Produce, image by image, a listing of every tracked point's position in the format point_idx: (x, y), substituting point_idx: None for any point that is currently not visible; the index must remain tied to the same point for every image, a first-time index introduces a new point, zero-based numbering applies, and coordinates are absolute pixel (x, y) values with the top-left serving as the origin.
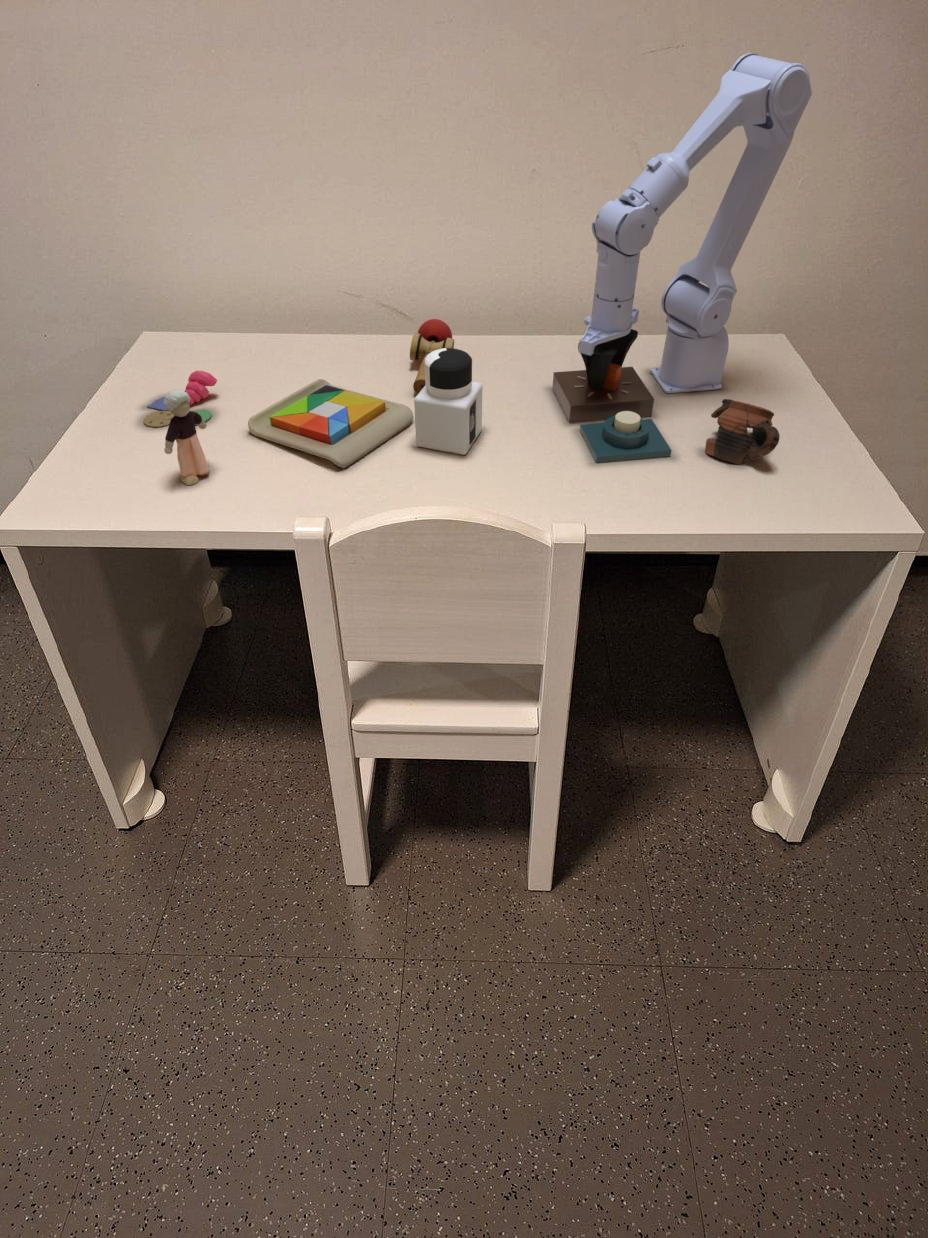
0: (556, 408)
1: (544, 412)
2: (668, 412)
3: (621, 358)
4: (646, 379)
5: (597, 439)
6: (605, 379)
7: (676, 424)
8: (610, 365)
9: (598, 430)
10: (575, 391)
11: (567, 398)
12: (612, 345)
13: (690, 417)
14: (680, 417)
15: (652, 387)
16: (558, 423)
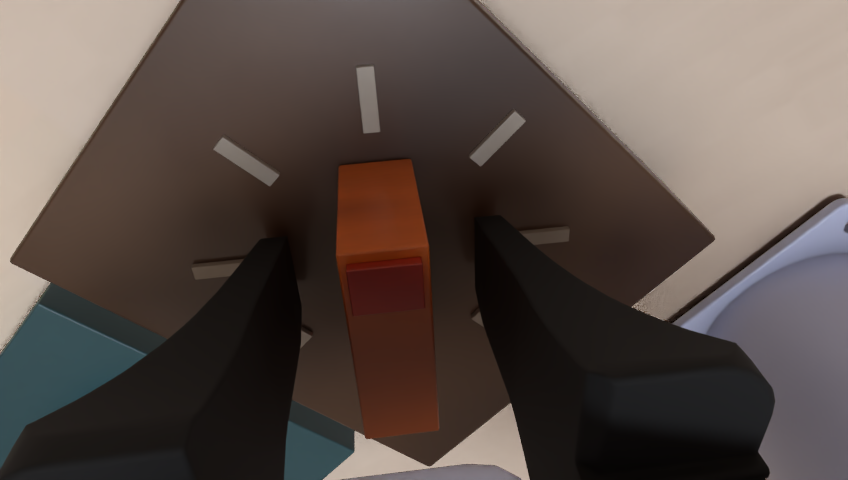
0: (124, 37)
1: (13, 6)
2: (498, 414)
3: (512, 405)
4: (748, 217)
5: (17, 415)
6: (295, 370)
7: (432, 466)
8: (393, 386)
9: (79, 382)
10: (178, 178)
11: (56, 196)
12: (538, 405)
13: (511, 469)
14: (489, 452)
15: (677, 276)
16: (7, 155)
